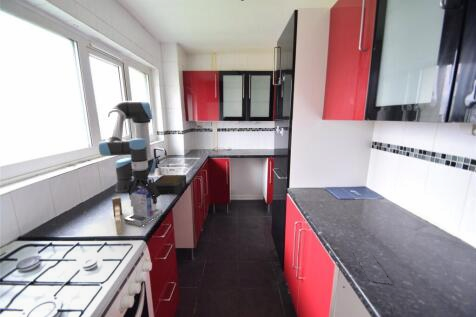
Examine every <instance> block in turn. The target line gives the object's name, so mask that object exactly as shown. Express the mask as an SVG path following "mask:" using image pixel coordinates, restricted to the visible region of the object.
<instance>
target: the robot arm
mask: <svg viewBox="0 0 476 317" xmlns="http://www.w3.org/2000/svg"><path fill="white" fill-rule="evenodd" d="M150 105H151V104H150V102H148V101H142V100H140V101H139V100H135V101H134V100H122V101H118V102H116V103H114V105H112V106H111V107H110V109H109V110H108V114H107V117H108V123H107V130H106V136H105V140H104V141H103V140H102V141H99V143H98V151H99V154H100V155H101V156H102V157H103V156H104V157H111V156H113V157H114V156H128V155H130V157H126V158H121V159H117V161H116V162H115V173H116V184H115V193H118V194H128V195H129V200H130V206H131V207H132V208H133V202H132V193H133V192H135V191H138V190H139V187H140V188H141V187H144V188H145V189H146V191H148V193H149V194H150V195H151V197H152V198H151V206H152V210H155V209H156V208H157V206H158V205H157V204H158V198H159V197H160V196H161V195H160V194H159V192H158V190H157V187H156V185H155V183H154V182H155V179H154V178H149V175H151V174H154V173H155V172H156V161H157V160H156V158H154V156H153V155H152V153H151V152H152V150H151V140H150V129H149V128H150V127H149V124H150V123H151V120H153V113H152V109H151V106H150ZM126 120H131V122H132V123H133V124H134V129H135V138H130V139H129V140H123V135H124V134H123V133H124V122H125V121H126ZM144 188H143V189H144ZM145 189H144V190H145ZM157 209H158V208H157Z"/></svg>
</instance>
